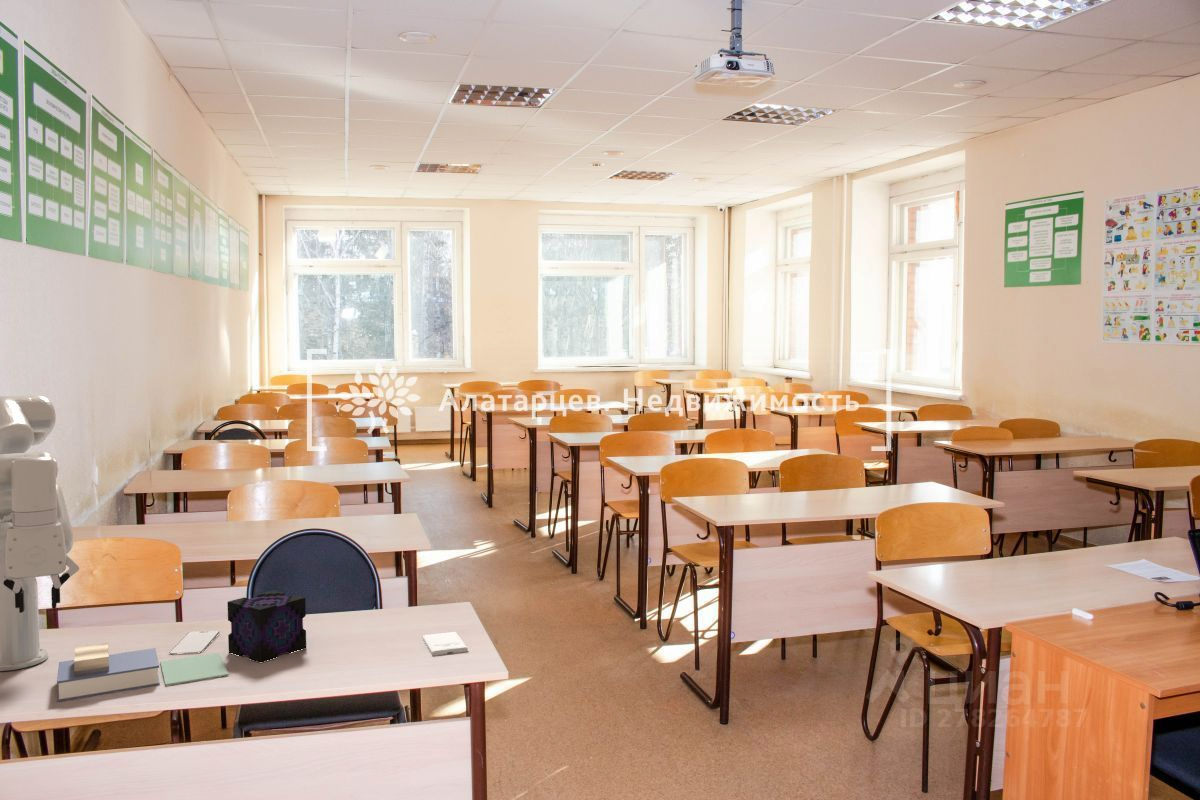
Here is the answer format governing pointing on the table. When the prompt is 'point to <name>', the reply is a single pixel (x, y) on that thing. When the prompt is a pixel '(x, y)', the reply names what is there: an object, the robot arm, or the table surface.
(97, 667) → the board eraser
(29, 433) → the robot arm
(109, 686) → the textbook
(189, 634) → the smartphone
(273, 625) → the energy cube
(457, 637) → the external hard drive
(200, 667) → the mat
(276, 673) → the table surface
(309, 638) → the table surface
